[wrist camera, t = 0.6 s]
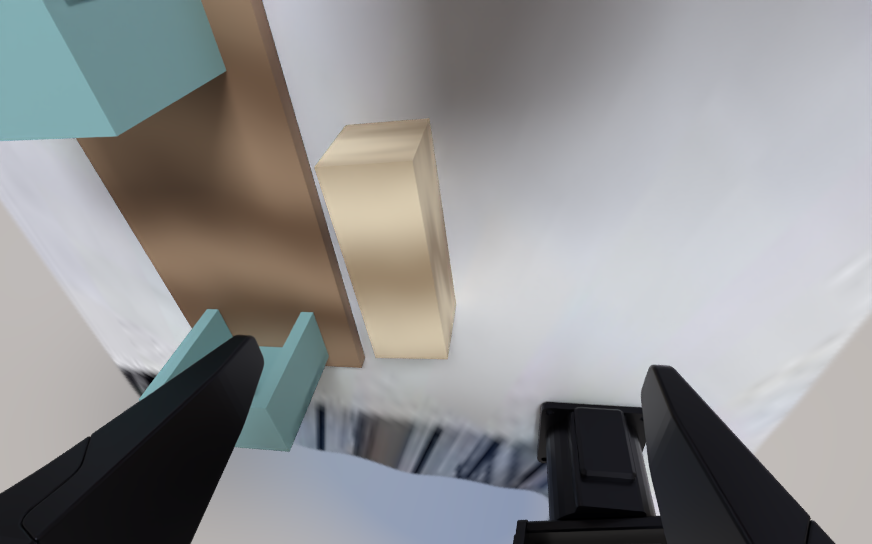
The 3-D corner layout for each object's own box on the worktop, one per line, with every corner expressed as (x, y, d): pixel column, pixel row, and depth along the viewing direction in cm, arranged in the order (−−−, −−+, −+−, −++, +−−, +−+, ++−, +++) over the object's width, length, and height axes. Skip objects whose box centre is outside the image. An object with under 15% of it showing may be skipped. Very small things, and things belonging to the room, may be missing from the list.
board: (365, 357, 28) (361, 367, 27) (217, 350, 30) (211, 360, 29) (241, -73, 15) (229, -71, 14) (-12, -42, 17) (-32, -39, 16)
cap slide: (329, 356, 27) (287, 457, 22) (230, 351, 28) (170, 447, 23) (313, 312, 25) (262, 414, 20) (207, 308, 26) (134, 405, 21)
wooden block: (456, 301, 24) (447, 359, 21) (393, 301, 25) (376, 357, 22) (430, 116, 18) (412, 161, 15) (347, 123, 19) (314, 167, 16)
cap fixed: (226, 70, 17) (117, 136, 12) (80, 80, 18) (-71, 143, 14) (184, -46, 15) (32, -19, 10) (20, -27, 16) (-186, 5, 11)
